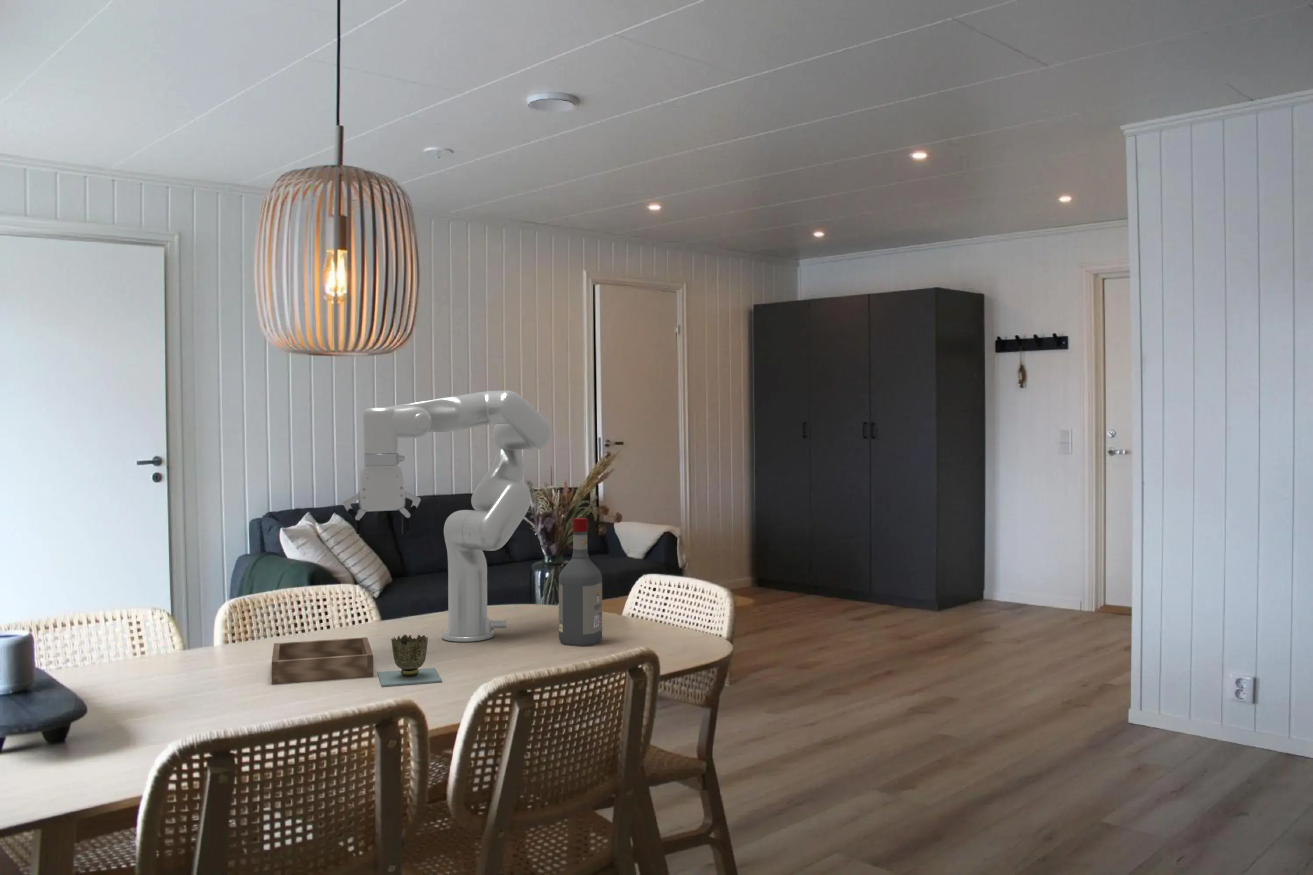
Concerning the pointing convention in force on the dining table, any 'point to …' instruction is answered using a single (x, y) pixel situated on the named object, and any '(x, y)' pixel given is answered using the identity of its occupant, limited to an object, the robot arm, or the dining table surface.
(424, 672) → the mat
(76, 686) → the dining table surface
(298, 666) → the walnut box
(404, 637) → the cup
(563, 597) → the liquor
